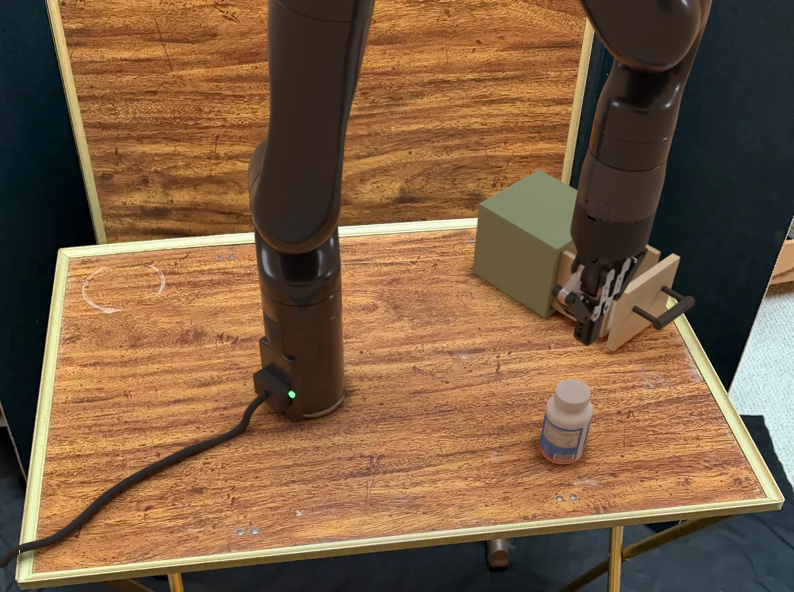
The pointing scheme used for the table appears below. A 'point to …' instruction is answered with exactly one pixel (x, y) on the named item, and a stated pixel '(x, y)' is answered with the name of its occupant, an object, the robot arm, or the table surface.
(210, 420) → the table surface
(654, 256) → the drawer
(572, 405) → the pill bottle
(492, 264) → the cabinet
